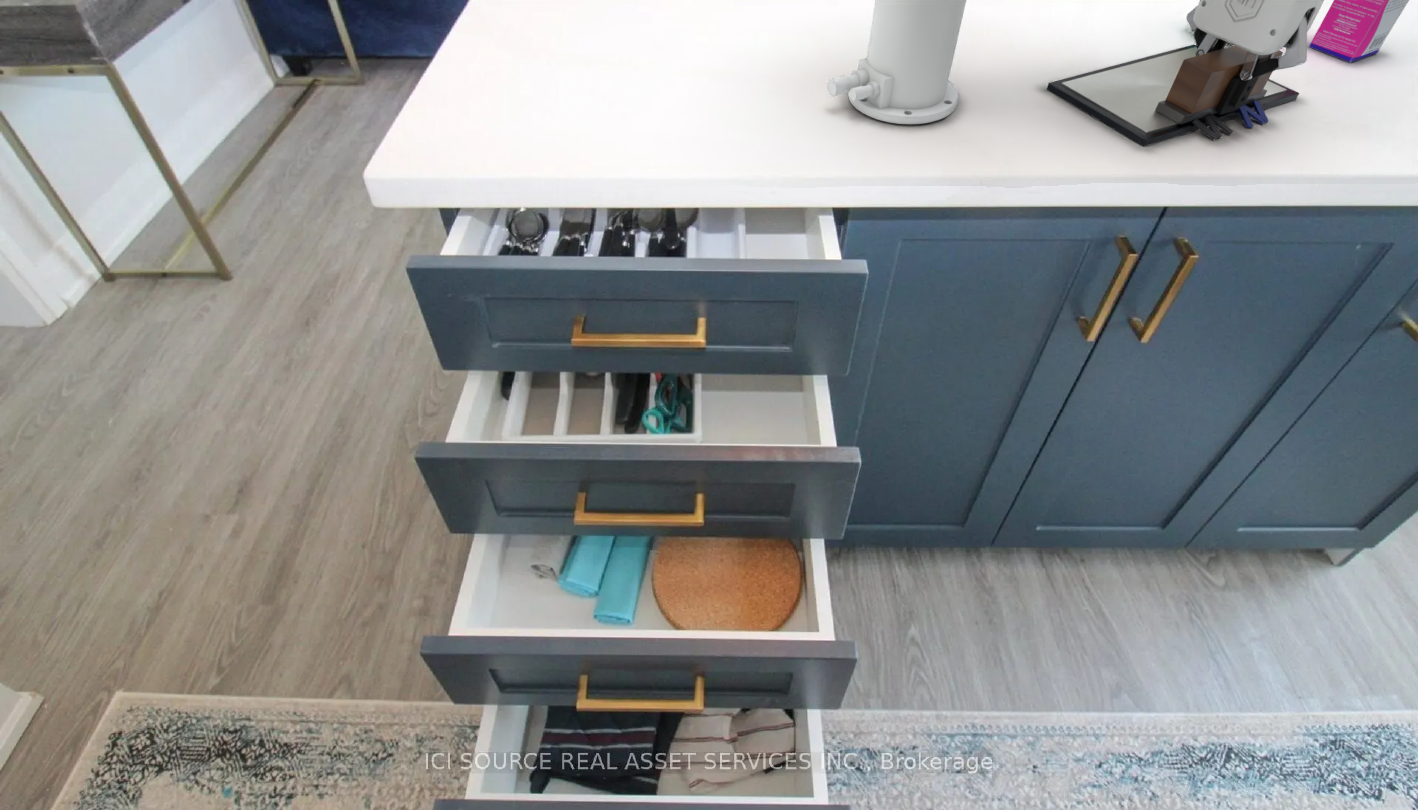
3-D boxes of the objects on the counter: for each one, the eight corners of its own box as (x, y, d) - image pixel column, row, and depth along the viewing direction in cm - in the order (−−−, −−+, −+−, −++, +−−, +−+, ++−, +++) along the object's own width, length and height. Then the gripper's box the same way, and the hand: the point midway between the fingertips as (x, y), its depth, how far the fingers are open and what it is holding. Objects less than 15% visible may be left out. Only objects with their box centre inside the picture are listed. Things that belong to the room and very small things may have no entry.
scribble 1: (1208, 142, 82) (1210, 140, 81) (1190, 121, 83) (1192, 119, 82) (1233, 134, 83) (1235, 132, 82) (1215, 114, 84) (1217, 112, 83)
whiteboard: (1143, 147, 81) (1147, 138, 80) (1046, 89, 90) (1048, 81, 90) (1295, 99, 88) (1300, 91, 87) (1191, 50, 97) (1194, 42, 96)
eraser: (1180, 124, 82) (1204, 74, 78) (1154, 110, 84) (1176, 61, 80) (1263, 99, 86) (1290, 50, 82) (1236, 86, 88) (1261, 37, 84)
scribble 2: (1247, 129, 83) (1249, 127, 83) (1230, 109, 84) (1232, 107, 84) (1272, 121, 85) (1274, 119, 84) (1255, 101, 86) (1257, 99, 85)
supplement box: (1333, 37, 99) (1390, -61, 91) (1378, 53, 96) (1442, -47, 87) (1305, 46, 97) (1361, -53, 89) (1350, 64, 94) (1413, -38, 85)
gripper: (1203, -102, 75) (1129, 79, 89) (1362, -52, 65) (1251, 144, 79) (1255, -112, 77) (1175, 66, 91) (1417, -65, 67) (1299, 128, 81)
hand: (1211, 101), depth 85 cm, fingers closed on eraser, 3 cm apart
